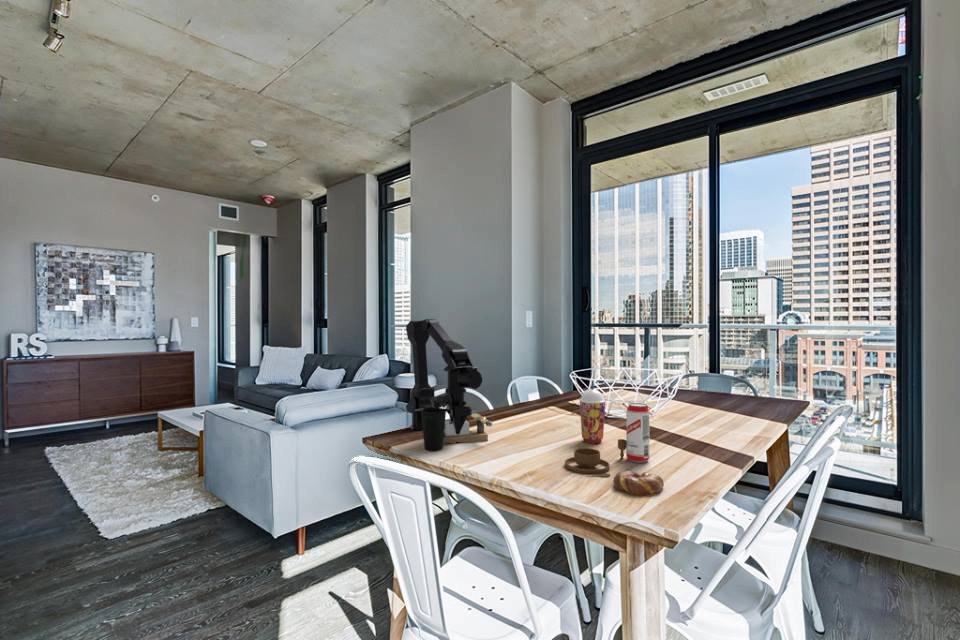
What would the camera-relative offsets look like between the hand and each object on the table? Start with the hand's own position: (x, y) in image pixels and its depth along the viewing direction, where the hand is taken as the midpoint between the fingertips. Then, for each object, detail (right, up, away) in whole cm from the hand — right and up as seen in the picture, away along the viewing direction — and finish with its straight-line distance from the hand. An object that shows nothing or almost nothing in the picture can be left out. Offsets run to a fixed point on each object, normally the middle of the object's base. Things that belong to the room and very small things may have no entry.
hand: (455, 432), depth 158 cm
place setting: (+41, -4, -28) cm, 50 cm away
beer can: (+53, -3, -22) cm, 58 cm away
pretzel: (+46, -3, -44) cm, 64 cm away
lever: (+9, +4, +1) cm, 9 cm away
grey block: (0, -1, 0) cm, 1 cm away
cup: (-6, -3, -10) cm, 12 cm away
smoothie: (+45, -3, -1) cm, 45 cm away
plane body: (+1, -3, 0) cm, 3 cm away
